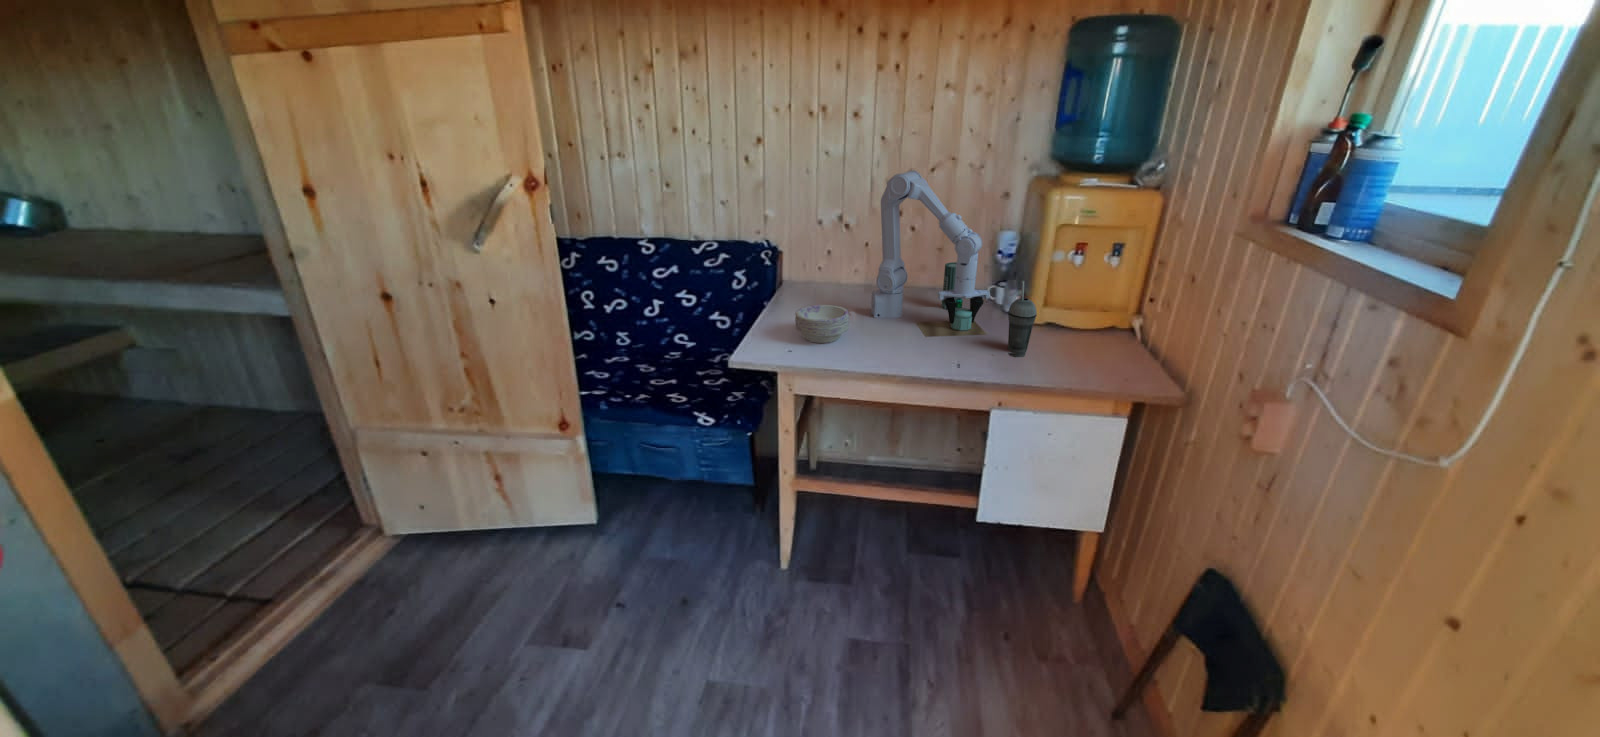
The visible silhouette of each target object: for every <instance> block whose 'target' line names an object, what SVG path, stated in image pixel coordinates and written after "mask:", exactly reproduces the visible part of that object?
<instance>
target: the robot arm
mask: <svg viewBox="0 0 1600 737" xmlns="http://www.w3.org/2000/svg"><path fill="white" fill-rule="evenodd" d="M906 199H910V200H915V201H916V200H917V201H920V202H921V203H922V204H923V206H925V207H926V208H927V209H928V211H930V213H932V215H934V216H935V218H936V219H938V225H939V226H938V227H939V229H940V230H941V231H942V232H943V233H944V235H946V237H947V239H949V240H950V242H951V243H952V244H953V245H954V251H955V253H956V256H957V258H956V262H957V265H956V275H955V285H954V290H948V291H943V290H941V291H938V293H937V299H938V300H939V301H942V300H943V299H944V301H945V304H946V307H947V313H948V321H949V322H950V323H951V324H953V322H954V313H955V308H956V302H955V300H954V299H963V300H964V299H969V309H970V310H971V311H972V323H973V322H974V321H975V319H976V316H977V314H978V312H979V310H980V308H982V306H983V305H984V302H985V301H984V299H990V295H991V292H990V291H989V290H988V289H985V290H984V289H976V280H977V271H978V259H979V251H980V250H981V249H982V246H983V239H982V237H981V236H980V234H979V233H977V232H974V231H973V229H972V228H969V227H968V225H966V223H965V222H964V221H963V220H962V219H963V217H962V216H961V214H957V213H956V212H950V211H948V209H947V208H946V206H944V204H943V203H942V201H941V200H940V199H939V197H938V196H937V194H935V192H934V190H932V188H931V186H930V185H929V183H928V182H927V180H926V179H925V178H924V177H922V175H921V174H920V173H919V172H918V171H917V170H914V169H913V170H908V171H907V172H906V171H905V172H902V173H896V174H893V176H892V177H890V178H889V179H888V180H887V181H886V187H885V189H884V191H883V194H882V196H881V198H880V220H881V222H880V223H881V244H882V245H881V248H882V261H881V262H880V265H879V266H878V274H877V277H876V279H875V280H876V281H875V282H876V283H875V284H876V286H877V288H878V290H873V291H872V292H871V303H870V304H871V305H870V314H871V315H872V317H873V319H897V318H901V317H902V316H903V304H904V303H903V301H904V285H905V284H906V283H907V281H908V273H907V270H906V268H905V261H904V260H903V259H902V255H901V254H902V253H901V249H902V248H901V223H900V222H901V221H900V220H901V217H900V214H901V213H900V205H901V204H902V203H903V202H904V201H905V200H906Z"/></svg>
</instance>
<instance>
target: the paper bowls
mask: <svg viewBox="0 0 1600 737" xmlns="http://www.w3.org/2000/svg"><path fill="white" fill-rule="evenodd" d="M794 319H795V330H796V331H797V332H798V333H800V334H802V336H803V337H804V338H805V339H806V340H807V341H809V342H812V343H815V342H816V343H817V344H827V343H833V342H836V341H838V340H839V339H840V338H841V336H842V334H845V333H846V332H848V330H849V327H850V326H849V325H850V321H849V320H850V312H849V311H848V309H846V308H844V307H842V306H838V305H834V304H833V305H831V304H814V305H809V306H808V305H806V306H803V307H800V308H798V309H797V310H796V312H795V318H794Z"/></svg>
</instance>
